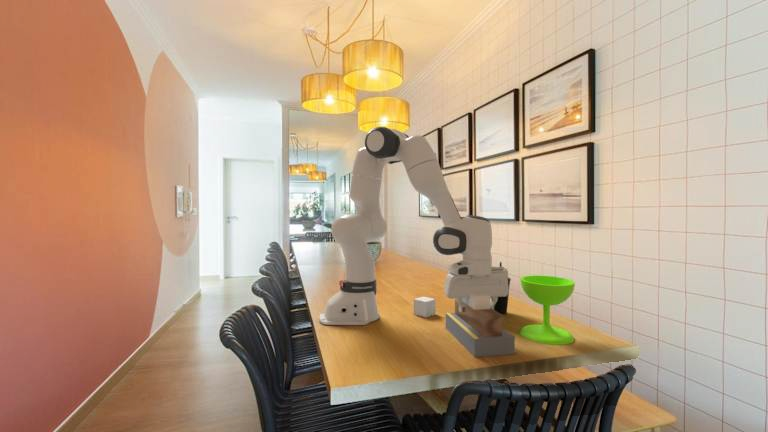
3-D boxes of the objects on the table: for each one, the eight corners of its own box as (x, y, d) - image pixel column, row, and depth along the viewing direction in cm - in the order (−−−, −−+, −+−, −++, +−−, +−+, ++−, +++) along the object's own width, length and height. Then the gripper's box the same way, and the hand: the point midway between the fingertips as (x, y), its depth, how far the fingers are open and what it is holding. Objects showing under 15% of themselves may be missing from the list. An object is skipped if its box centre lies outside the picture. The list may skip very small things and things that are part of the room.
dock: (474, 356, 98) (474, 338, 98) (445, 327, 122) (445, 312, 121) (514, 354, 100) (514, 335, 100) (478, 325, 123) (478, 311, 123)
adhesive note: (413, 314, 137) (413, 299, 137) (423, 311, 141) (423, 296, 141) (425, 317, 133) (425, 302, 132) (435, 314, 137) (435, 299, 137)
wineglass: (513, 326, 123) (514, 275, 122) (560, 327, 122) (561, 275, 122) (529, 344, 107) (530, 285, 106) (584, 345, 106) (584, 286, 106)
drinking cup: (512, 311, 140) (513, 261, 139) (507, 316, 133) (508, 264, 133) (493, 308, 144) (493, 260, 143) (487, 313, 138) (488, 262, 137)
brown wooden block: (484, 337, 99) (484, 316, 99) (455, 313, 121) (455, 296, 121) (502, 335, 100) (502, 315, 100) (470, 312, 122) (470, 295, 122)
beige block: (474, 309, 105) (474, 296, 105) (468, 305, 110) (468, 292, 110) (490, 309, 106) (490, 295, 106) (483, 304, 111) (483, 291, 111)
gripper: (502, 264, 115) (502, 306, 115) (442, 266, 112) (442, 309, 112) (513, 268, 109) (512, 312, 109) (449, 269, 105) (449, 315, 106)
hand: (476, 311), depth 110 cm, fingers open, 8 cm apart
